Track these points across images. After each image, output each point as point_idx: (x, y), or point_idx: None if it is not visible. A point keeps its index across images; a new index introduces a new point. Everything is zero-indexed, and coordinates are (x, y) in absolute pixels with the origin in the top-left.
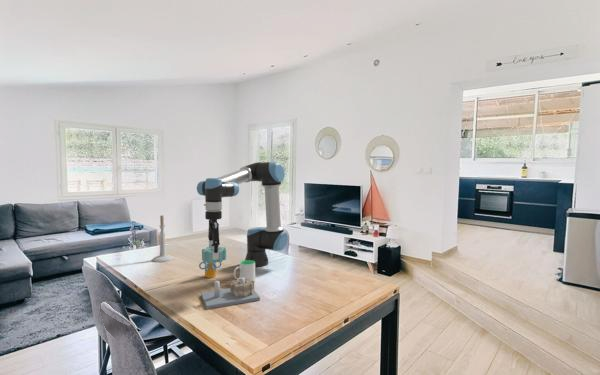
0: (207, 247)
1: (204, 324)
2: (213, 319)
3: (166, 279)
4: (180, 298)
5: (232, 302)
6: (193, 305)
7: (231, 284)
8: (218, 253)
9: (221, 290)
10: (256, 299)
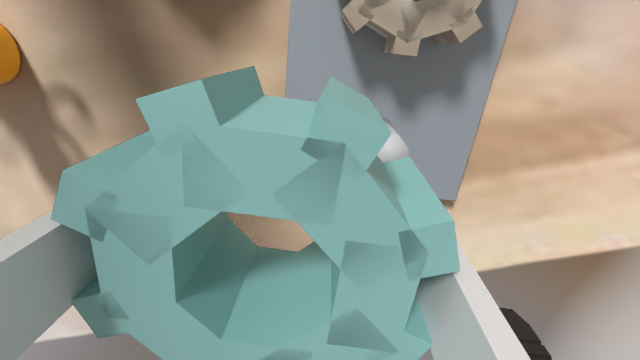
0: (97, 328)
1: (573, 235)
2: (561, 198)
3: None
4: None
5: (489, 79)
6: None
7: (414, 52)
8: (476, 275)
9: (303, 81)
10: None
